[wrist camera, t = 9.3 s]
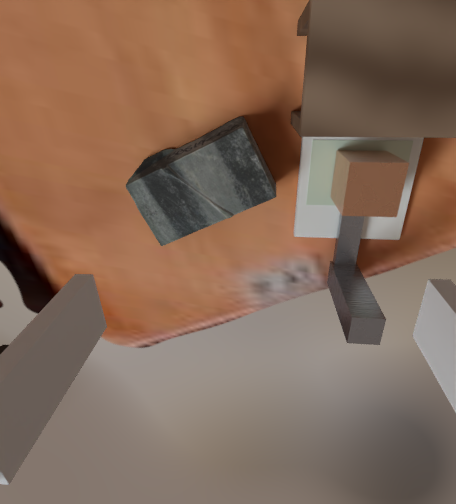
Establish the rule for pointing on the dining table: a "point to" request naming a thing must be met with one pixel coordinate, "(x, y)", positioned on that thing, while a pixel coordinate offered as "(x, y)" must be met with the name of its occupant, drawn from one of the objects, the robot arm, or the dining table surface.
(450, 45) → the small grey table
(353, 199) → the grey l-shaped piece
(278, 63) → the dining table surface
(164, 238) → the stone block
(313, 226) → the white flat panel
